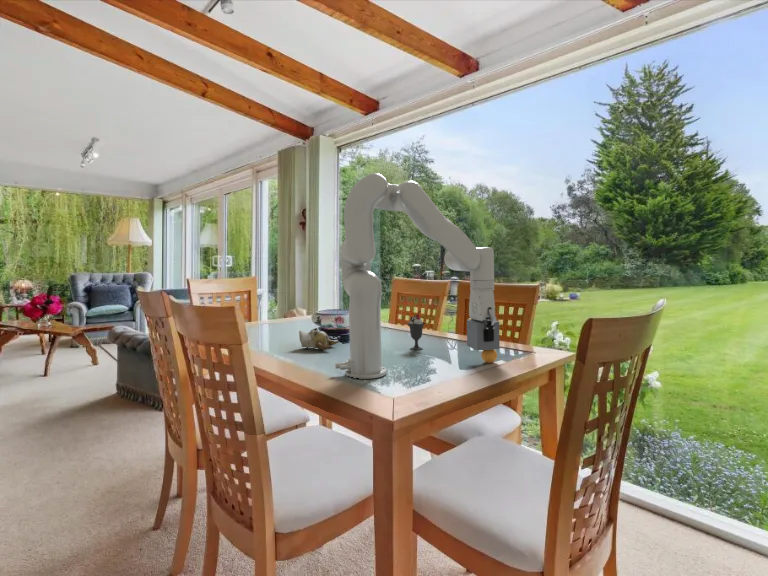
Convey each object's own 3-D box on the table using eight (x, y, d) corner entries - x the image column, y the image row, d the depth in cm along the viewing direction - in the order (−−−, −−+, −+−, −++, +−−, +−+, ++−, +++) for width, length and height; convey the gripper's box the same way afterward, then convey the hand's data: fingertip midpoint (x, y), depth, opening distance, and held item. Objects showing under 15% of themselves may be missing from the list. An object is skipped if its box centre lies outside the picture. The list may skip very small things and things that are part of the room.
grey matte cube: (477, 350, 137) (477, 323, 137) (467, 345, 145) (466, 319, 144) (499, 348, 139) (499, 321, 138) (488, 344, 146) (488, 318, 146)
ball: (502, 358, 141) (491, 367, 140) (495, 354, 146) (484, 363, 145) (494, 346, 140) (482, 355, 139) (487, 343, 145) (476, 352, 144)
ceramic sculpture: (304, 324, 175) (339, 327, 172) (304, 345, 176) (339, 348, 173) (293, 329, 165) (331, 332, 162) (293, 351, 166) (330, 354, 163)
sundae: (424, 351, 161) (423, 311, 160) (406, 350, 163) (406, 311, 162) (426, 347, 168) (425, 309, 167) (409, 347, 169) (408, 309, 168)
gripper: (460, 284, 148) (461, 335, 149) (483, 287, 131) (484, 345, 132) (480, 283, 150) (481, 333, 151) (506, 286, 133) (506, 343, 134)
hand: (482, 338), depth 142 cm, fingers closed on grey matte cube, 7 cm apart
